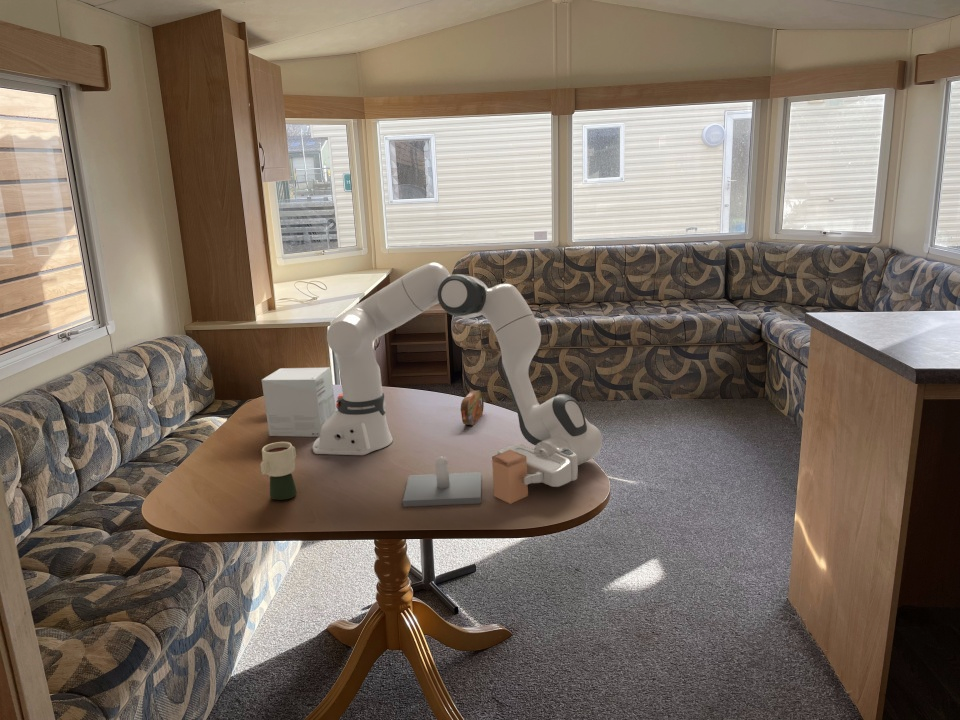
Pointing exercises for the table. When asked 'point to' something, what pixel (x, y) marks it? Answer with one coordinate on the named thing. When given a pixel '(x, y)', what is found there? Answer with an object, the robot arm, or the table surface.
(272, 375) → the supplement box
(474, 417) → the tin
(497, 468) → the tall lidded tan box
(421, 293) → the robot arm
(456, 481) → the base
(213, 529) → the table surface
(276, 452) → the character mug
